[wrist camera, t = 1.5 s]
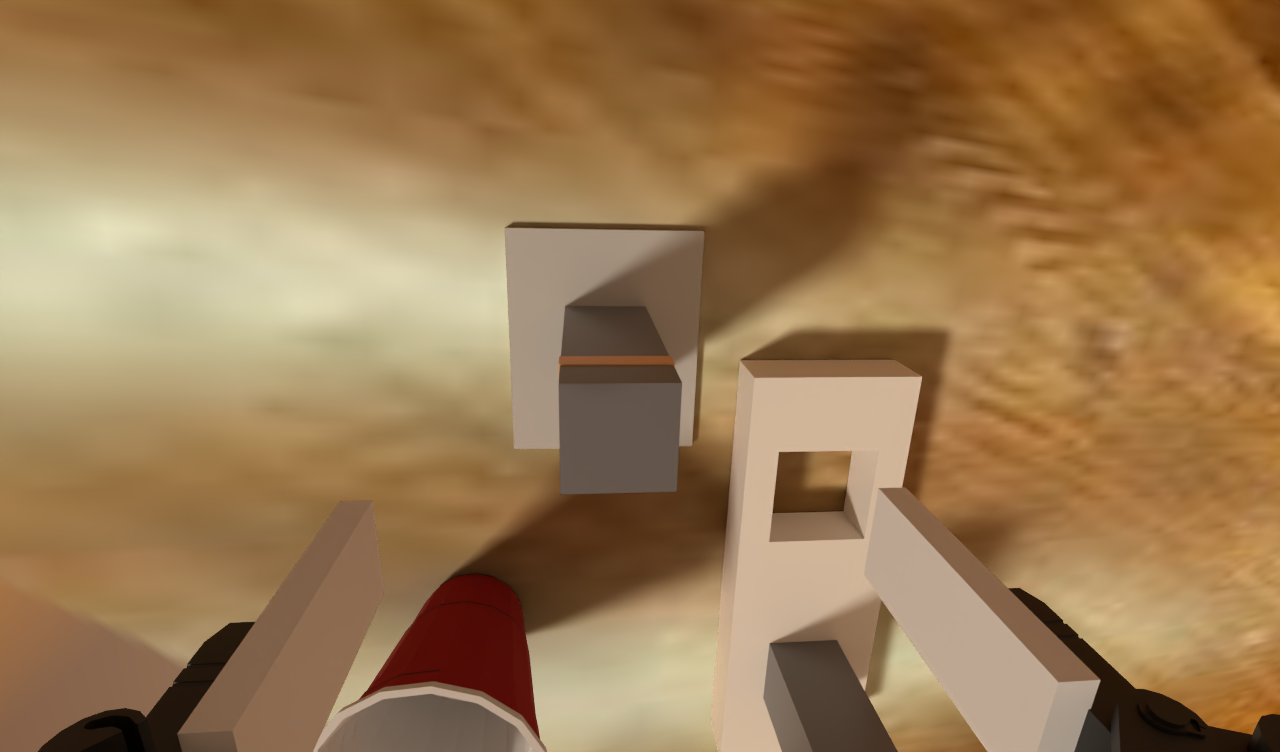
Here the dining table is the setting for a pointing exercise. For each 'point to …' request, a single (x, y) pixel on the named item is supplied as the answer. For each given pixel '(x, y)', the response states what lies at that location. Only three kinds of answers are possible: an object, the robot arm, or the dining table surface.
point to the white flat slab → (595, 276)
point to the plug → (617, 403)
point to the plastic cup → (449, 681)
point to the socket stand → (805, 557)
